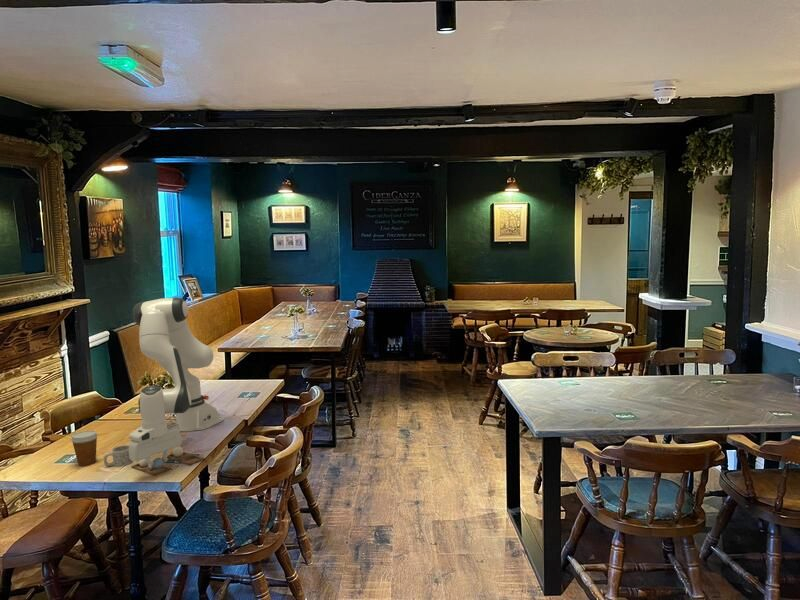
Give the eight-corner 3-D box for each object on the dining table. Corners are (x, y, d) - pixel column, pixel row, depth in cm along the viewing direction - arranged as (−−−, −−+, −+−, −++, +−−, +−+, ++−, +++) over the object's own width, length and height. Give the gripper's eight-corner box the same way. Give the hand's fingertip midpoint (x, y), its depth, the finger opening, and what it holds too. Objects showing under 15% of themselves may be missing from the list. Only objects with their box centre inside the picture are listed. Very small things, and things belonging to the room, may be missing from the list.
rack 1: (131, 469, 230) (131, 465, 230) (147, 462, 236) (147, 459, 235) (155, 477, 221) (155, 474, 221) (172, 471, 227) (172, 467, 226)
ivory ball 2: (179, 453, 242) (178, 444, 242) (185, 455, 240) (185, 446, 240) (171, 457, 239) (170, 447, 239) (177, 459, 237) (176, 449, 236)
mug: (130, 459, 240) (128, 444, 239) (134, 464, 234) (132, 448, 233) (103, 466, 234) (101, 450, 233) (106, 471, 228) (104, 455, 228)
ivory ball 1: (146, 463, 233) (145, 453, 233) (152, 465, 231) (151, 455, 231) (137, 467, 230) (136, 457, 230) (143, 469, 228) (142, 459, 227)
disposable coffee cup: (70, 463, 238) (67, 434, 236) (95, 456, 244) (92, 428, 243) (77, 469, 231) (74, 440, 230) (103, 462, 238) (100, 433, 236)
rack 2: (165, 459, 239) (165, 456, 239) (180, 453, 245) (180, 450, 244) (190, 467, 230) (190, 463, 230) (205, 460, 236) (205, 457, 235)
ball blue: (159, 465, 228) (158, 455, 228) (166, 467, 226) (165, 457, 225) (150, 468, 225) (149, 458, 224) (156, 471, 223) (155, 460, 222)
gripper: (173, 420, 234) (176, 453, 236) (124, 436, 217) (128, 472, 219) (183, 422, 230) (186, 456, 232) (134, 439, 214) (138, 475, 215)
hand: (157, 464), depth 225 cm, fingers closed on ball blue, 4 cm apart
